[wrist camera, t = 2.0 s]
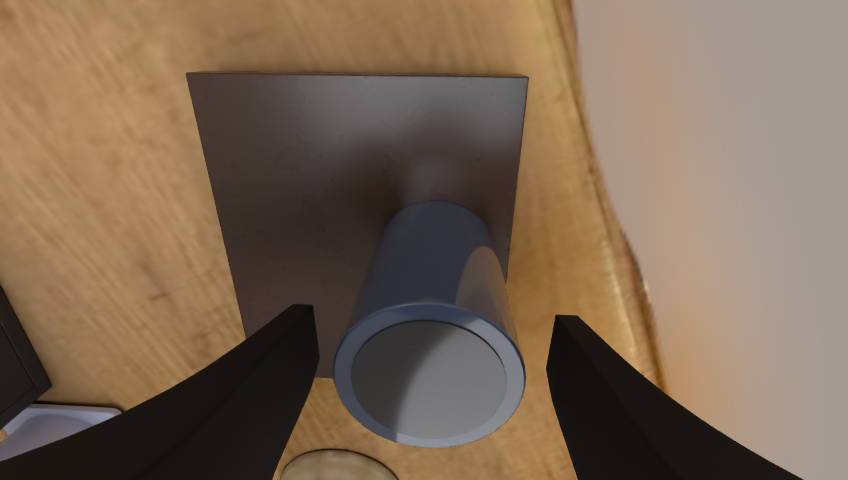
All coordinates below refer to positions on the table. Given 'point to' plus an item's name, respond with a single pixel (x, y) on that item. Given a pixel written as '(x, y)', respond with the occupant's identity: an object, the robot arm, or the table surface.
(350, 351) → the tumbler
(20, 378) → the rack
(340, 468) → the hand bell
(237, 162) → the shelf
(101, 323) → the table surface
